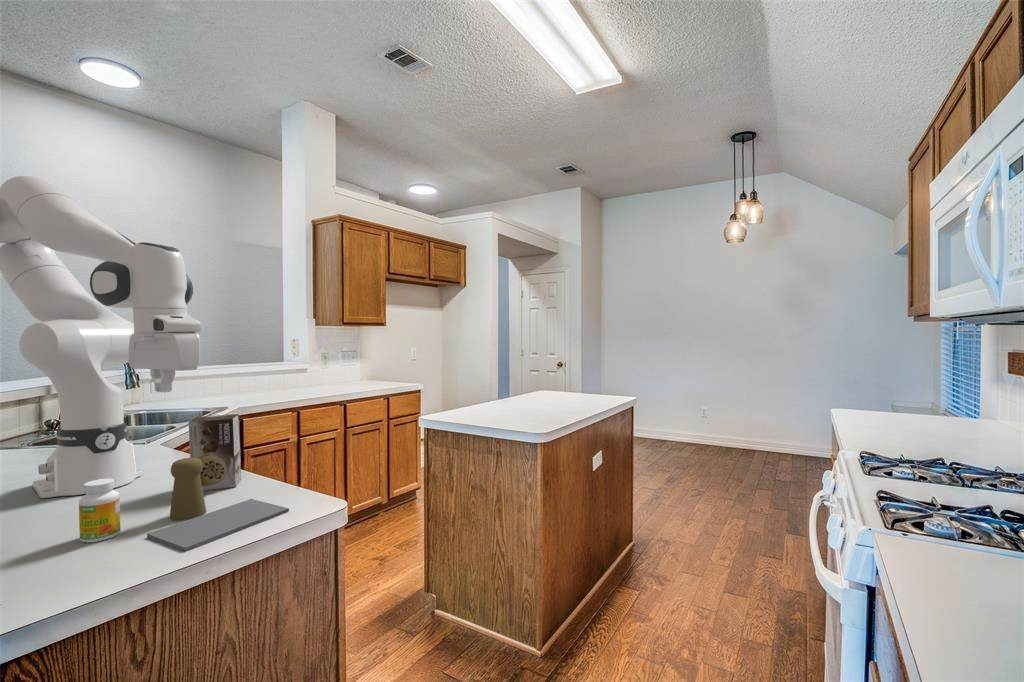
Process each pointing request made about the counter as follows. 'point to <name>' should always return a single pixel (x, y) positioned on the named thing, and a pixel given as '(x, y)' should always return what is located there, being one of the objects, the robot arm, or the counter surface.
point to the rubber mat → (216, 524)
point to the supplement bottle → (99, 511)
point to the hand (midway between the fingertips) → (163, 391)
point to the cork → (187, 490)
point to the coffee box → (216, 449)
